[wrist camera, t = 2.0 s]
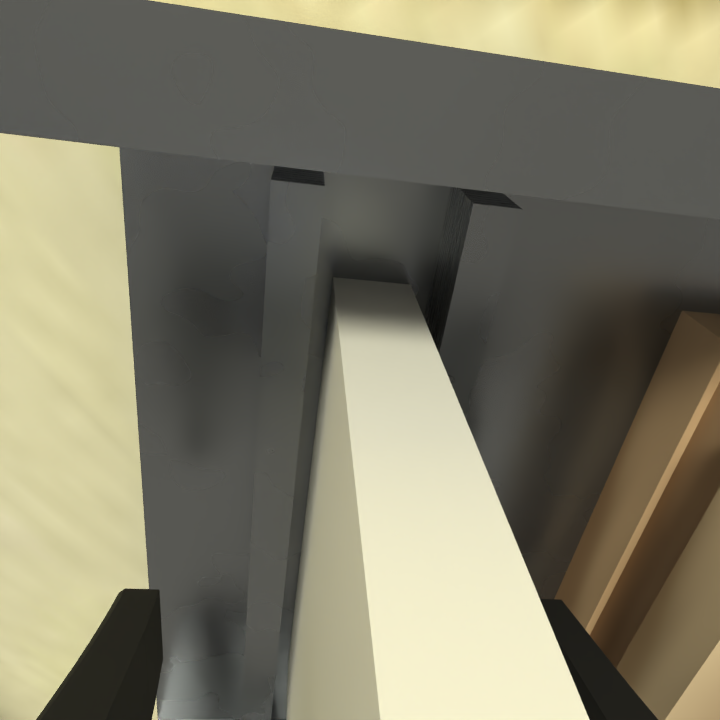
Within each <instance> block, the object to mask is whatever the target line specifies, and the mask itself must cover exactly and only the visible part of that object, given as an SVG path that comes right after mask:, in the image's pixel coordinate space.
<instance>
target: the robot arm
mask: <svg viewBox="0 0 720 720" xmlns="http://www.w3.org/2000/svg"><path fill="white" fill-rule="evenodd" d="M540 601H541V603H542V606H543V608H544V610H545V613H546V615H547V618H548V620H549V623H550V625H551V627H552V630H553V632H554V635H555V637H556V640H557V642H558V644H559V647H560V649H561V652H562V654H563V657H564V659H565V661H566V664H567V666H568V669H569V671H570V674H571V676H572V678H573V681H574V683H575V686H576V688H577V691H578V693H579V695H580V698H581V700H582V703H583V705H584V708H585V710H586V712H587V715H588V717H589V720H658V719H657V717H656V716H655V715H654V714H653V713H652V711H651V710H650V709H649V708H648V707H647V705H646V704H645V703H644V702H643V701H642V700H641V698H640V697H639V696H638V695H637V694H636V692H635V691H634V690H633V689H632V688H631V686H630V685H629V684H628V683H627V681H626V680H625V679H624V678H623V677H622V675H621V674H620V673H619V672H618V670H617V669H616V668H615V667H614V665H613V664H612V663H611V662H610V660H609V659H608V658H607V657H606V655H605V654H604V653H603V652H602V650H601V649H600V648H599V646H598V645H597V644H596V643H595V641H594V640H593V639H592V638H591V636H590V635H589V634H588V633H587V631H586V630H585V629H584V627H583V626H582V625H581V624H580V622H579V621H578V620H577V619H576V617H575V616H574V615H573V614H572V612H571V611H570V610H569V609H568V607H567V606H566V605H565V603H564V602H563V601H562V600H561V599H540ZM162 663H163V644H162V626H161V608H160V590H158V589H124V590H122V591H121V592H119V594H118V595H117V597H116V599H115V601H114V603H113V604H112V606H111V608H110V610H109V611H108V613H107V615H106V616H105V618H104V620H103V621H102V623H101V625H100V626H99V628H98V630H97V631H96V633H95V634H94V636H93V638H92V639H91V641H90V642H89V644H88V645H87V647H86V648H85V650H84V651H83V653H82V655H81V656H80V658H79V659H78V661H77V662H76V664H75V665H74V667H73V668H72V670H71V671H70V672H69V674H68V675H67V677H66V678H65V680H64V681H63V682H62V684H61V685H60V687H59V688H58V690H57V691H56V692H55V694H54V695H53V697H52V698H51V700H50V701H49V702H48V704H47V705H46V707H45V708H44V710H43V711H42V712H41V714H40V715H39V716H38V718H37V719H36V720H152V715H153V710H154V705H155V700H156V695H157V689H158V684H159V679H160V673H161V668H162Z"/></svg>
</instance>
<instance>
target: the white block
mask: <svg viewBox="0 0 720 720" xmlns="http://www.w3.org/2000/svg"><path fill="white" fill-rule="evenodd" d="M286 720H589V717H588V715H587V712H586V710H585V708H584V705H583V703H582V700H581V698H580V695H579V693H578V691H577V688H576V686H575V683H574V681H573V678H572V676H571V674H570V671H569V669H568V666H567V664H566V661H565V659H564V657H563V654H562V652H561V649H560V647H559V644H558V642H557V640H556V637H555V635H554V632H553V630H552V627H551V625H550V623H549V620H548V618H547V615H546V613H545V610H544V608H543V606H542V603H541V601H540V598H539V596H538V593H537V591H536V589H535V586H534V584H533V581H532V579H531V576H530V574H529V572H528V569H527V567H526V564H525V562H524V559H523V557H522V555H521V552H520V550H519V547H518V545H517V542H516V540H515V538H514V535H513V533H512V530H511V528H510V525H509V523H508V521H507V518H506V516H505V513H504V511H503V508H502V506H501V504H500V501H499V499H498V496H497V494H496V491H495V489H494V487H493V484H492V482H491V479H490V477H489V474H488V472H487V470H486V467H485V465H484V462H483V460H482V457H481V455H480V452H479V450H478V448H477V445H476V443H475V440H474V438H473V435H472V433H471V431H470V428H469V426H468V423H467V421H466V418H465V416H464V414H463V411H462V409H461V406H460V404H459V401H458V399H457V397H456V394H455V392H454V389H453V387H452V384H451V382H450V380H449V377H448V375H447V372H446V370H445V367H444V365H443V363H442V360H441V358H440V355H439V353H438V350H437V348H436V346H435V343H434V341H433V338H432V336H431V333H430V331H429V329H428V326H427V324H426V321H425V319H424V316H423V314H422V312H421V309H420V307H419V304H418V302H417V299H416V297H415V295H414V292H413V290H412V287H411V285H410V284H399V283H389V282H378V281H368V280H357V279H347V278H336V277H333V283H332V291H331V300H330V308H329V317H328V326H327V334H326V343H325V351H324V360H323V368H322V377H321V386H320V394H319V403H318V411H317V420H316V428H315V437H314V445H313V454H312V463H311V471H310V480H309V488H308V497H307V505H306V514H305V523H304V531H303V540H302V548H301V557H300V565H299V574H298V582H297V591H296V600H295V608H294V617H293V625H292V634H291V642H290V651H289V660H288V680H287V713H286Z"/></svg>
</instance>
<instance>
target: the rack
mask: <svg viewBox="0 0 720 720" xmlns="http://www.w3.org/2000/svg"><path fill="white" fill-rule="evenodd" d="M0 133H6V134H14V135H23V136H31V137H39V138H48V139H56V140H64V141H73V142H81V143H89V144H97V145H106V146H114V147H120V162H121V177H122V192H123V207H124V222H125V237H126V252H127V266H128V281H129V296H130V311H131V326H132V341H133V356H134V370H135V385H136V400H137V415H138V430H139V445H140V460H141V474H142V489H143V504H144V519H145V534H146V549H147V564H148V578H149V589H158V590H160V608H161V626H162V644H163V663H162V668H161V673H160V679H159V684H158V689H157V695H156V697H157V712H158V720H286V713H287V680H288V660H289V651H290V642H291V634H292V625H293V617H294V608H295V600H296V591H297V582H298V574H299V565H300V557H301V548H302V540H303V531H304V523H305V514H306V505H307V497H308V488H309V480H310V471H311V463H312V454H313V445H314V437H315V428H316V420H317V411H318V403H319V394H320V386H321V377H322V368H323V360H324V351H325V343H326V334H327V326H328V317H329V308H330V300H331V291H332V283H333V277H336V278H347V279H357V280H368V281H378V282H389V283H399V284H410V285H411V287H412V290H413V292H414V295H415V297H416V299H417V302H418V304H419V307H420V309H421V312H422V314H423V316H424V319H425V321H426V324H427V326H428V329H429V331H430V333H431V336H432V338H433V341H434V343H435V346H436V348H437V350H438V353H439V355H440V358H441V360H442V363H443V365H444V367H445V370H446V372H447V375H448V377H449V380H450V382H451V384H452V387H453V389H454V392H455V394H456V397H457V399H458V401H459V404H460V406H461V409H462V411H463V414H464V416H465V418H466V421H467V423H468V426H469V428H470V431H471V433H472V435H473V438H474V440H475V443H476V445H477V448H478V450H479V452H480V455H481V457H482V460H483V462H484V465H485V467H486V470H487V472H488V474H489V477H490V479H491V482H492V484H493V487H494V489H495V491H496V494H497V496H498V499H499V501H500V504H501V506H502V508H503V511H504V513H505V516H506V518H507V521H508V523H509V525H510V528H511V530H512V533H513V535H514V538H515V540H516V542H517V545H518V547H519V550H520V552H521V555H522V557H523V559H524V562H525V564H526V567H527V569H528V572H529V574H530V576H531V579H532V581H533V584H534V586H535V589H536V591H537V593H538V596H539V598H540V599H554V598H555V596H556V594H557V592H558V589H559V587H560V585H561V582H562V580H563V578H564V576H565V573H566V571H567V569H568V567H569V564H570V562H571V560H572V558H573V555H574V553H575V551H576V549H577V546H578V544H579V542H580V540H581V537H582V535H583V533H584V531H585V528H586V526H587V524H588V522H589V519H590V517H591V515H592V513H593V510H594V508H595V506H596V504H597V501H598V499H599V497H600V495H601V492H602V490H603V488H604V486H605V483H606V481H607V479H608V477H609V474H610V472H611V470H612V467H613V465H614V463H615V461H616V458H617V456H618V454H619V452H620V449H621V447H622V445H623V443H624V440H625V438H626V436H627V434H628V431H629V429H630V427H631V425H632V422H633V420H634V418H635V416H636V413H637V411H638V409H639V407H640V404H641V402H642V400H643V398H644V395H645V393H646V391H647V389H648V386H649V384H650V382H651V380H652V377H653V375H654V373H655V371H656V368H657V366H658V364H659V362H660V359H661V357H662V355H663V352H664V350H665V348H666V346H667V343H668V341H669V339H670V337H671V334H672V332H673V330H674V328H675V325H676V323H677V321H678V319H679V316H680V314H681V312H682V311H692V312H702V313H713V314H720V89H719V88H713V87H706V86H700V85H693V84H687V83H680V82H674V81H668V80H661V79H655V78H648V77H642V76H635V75H629V74H622V73H616V72H609V71H603V70H596V69H590V68H583V67H577V66H570V65H564V64H557V63H551V62H544V61H538V60H531V59H525V58H518V57H512V56H505V55H499V54H493V53H486V52H480V51H473V50H467V49H460V48H454V47H447V46H441V45H434V44H428V43H421V42H415V41H408V40H402V39H395V38H389V37H382V36H376V35H369V34H363V33H356V32H350V31H343V30H337V29H330V28H324V27H317V26H311V25H305V24H298V23H292V22H285V21H279V20H272V19H266V18H259V17H253V16H246V15H240V14H233V13H227V12H220V11H214V10H207V9H201V8H194V7H188V6H181V5H175V4H168V3H162V2H155V1H149V0H0Z"/></svg>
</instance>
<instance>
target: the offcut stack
mask: <svg viewBox="0 0 720 720" xmlns="http://www.w3.org/2000/svg"><path fill="white" fill-rule="evenodd" d="M554 599H561V600H562V601H563V602H564V603H565V605H566V606H567V607H568V609H569V610H570V611H571V612H572V614H573V615H574V616H575V617H576V619H577V620H578V621H579V622H580V624H581V625H582V626H583V627H584V629H585V630H586V631H587V633H588V634H589V635H590V636H591V638H592V639H593V640H594V641H595V643H596V644H597V645H598V646H599V648H600V649H601V650H602V652H603V653H604V654H605V655H606V657H607V658H608V659H609V660H610V662H611V663H612V664H613V665H614V667H615V668H616V669H617V670H618V672H619V673H620V674H621V675H622V677H623V678H624V679H625V680H626V681H627V683H628V684H629V685H630V686H631V688H632V689H633V690H634V691H635V692H636V694H637V695H638V696H639V697H640V698H641V700H642V701H643V702H644V703H645V704H646V705H647V707H648V708H649V709H650V710H651V711H652V713H653V714H654V715H655V716H656V717H657V719H658V720H720V314H713V313H702V312H692V311H682V312H681V314H680V316H679V319H678V321H677V323H676V325H675V328H674V330H673V332H672V334H671V337H670V339H669V341H668V343H667V346H666V348H665V350H664V352H663V355H662V357H661V359H660V362H659V364H658V366H657V368H656V371H655V373H654V375H653V377H652V380H651V382H650V384H649V386H648V389H647V391H646V393H645V395H644V398H643V400H642V402H641V404H640V407H639V409H638V411H637V413H636V416H635V418H634V420H633V422H632V425H631V427H630V429H629V431H628V434H627V436H626V438H625V440H624V443H623V445H622V447H621V449H620V452H619V454H618V456H617V458H616V461H615V463H614V465H613V467H612V470H611V472H610V474H609V477H608V479H607V481H606V483H605V486H604V488H603V490H602V492H601V495H600V497H599V499H598V501H597V504H596V506H595V508H594V510H593V513H592V515H591V517H590V519H589V522H588V524H587V526H586V528H585V531H584V533H583V535H582V537H581V540H580V542H579V544H578V546H577V549H576V551H575V553H574V555H573V558H572V560H571V562H570V564H569V567H568V569H567V571H566V573H565V576H564V578H563V580H562V582H561V585H560V587H559V589H558V592H557V594H556V596H555V598H554Z"/></svg>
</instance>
